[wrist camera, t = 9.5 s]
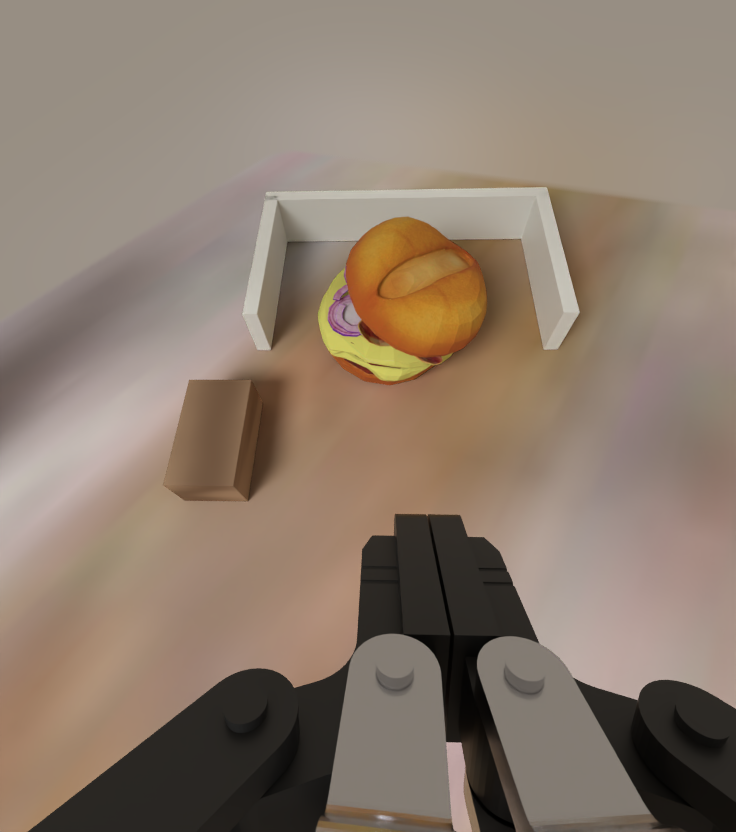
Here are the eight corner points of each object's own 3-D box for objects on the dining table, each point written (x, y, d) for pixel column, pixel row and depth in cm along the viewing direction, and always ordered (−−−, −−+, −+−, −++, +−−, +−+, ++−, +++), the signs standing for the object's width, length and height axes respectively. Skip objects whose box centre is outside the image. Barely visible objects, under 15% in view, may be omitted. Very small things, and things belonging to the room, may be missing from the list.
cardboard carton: (184, 500, 27) (163, 485, 24) (206, 402, 30) (189, 379, 28) (247, 501, 27) (232, 485, 24) (262, 402, 30) (251, 379, 27)
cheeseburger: (342, 270, 36) (366, 158, 27) (461, 321, 36) (524, 227, 27) (293, 367, 31) (302, 271, 22) (429, 424, 32) (492, 352, 23)
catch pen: (257, 350, 32) (242, 314, 29) (277, 233, 38) (266, 191, 34) (557, 349, 31) (579, 312, 28) (531, 230, 37) (546, 187, 34)
